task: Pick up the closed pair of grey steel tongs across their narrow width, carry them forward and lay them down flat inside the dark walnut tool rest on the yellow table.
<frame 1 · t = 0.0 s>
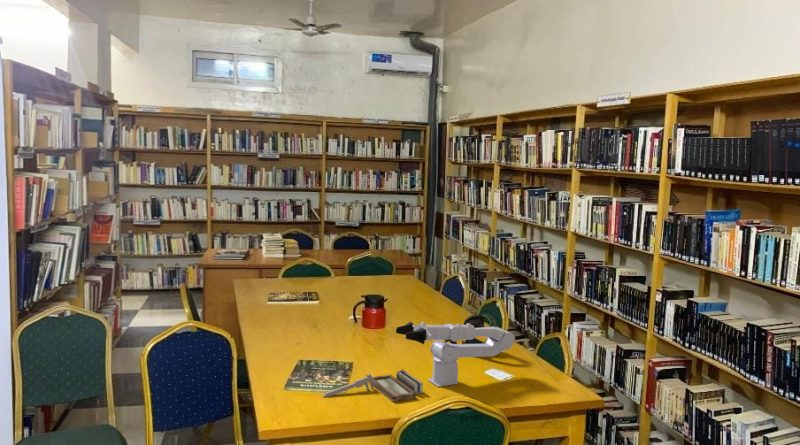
hand: (401, 333, 223), 22 cm above the table, tool horizontal, fingers open, 7 cm apart
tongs: (409, 387, 228), on the table
headset: (469, 351, 276), on the table
caliper: (348, 393, 220), on the table
rest: (391, 390, 224), on the table
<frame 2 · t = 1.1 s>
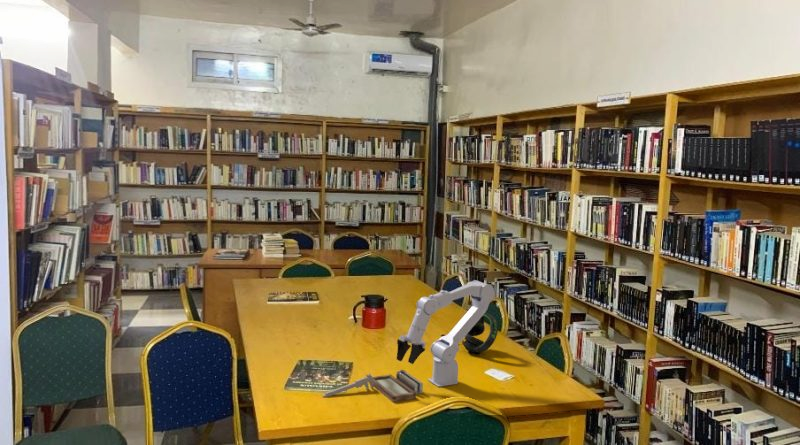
hand: (404, 361, 226), 10 cm above the table, tool tilted 20°, fingers open, 7 cm apart
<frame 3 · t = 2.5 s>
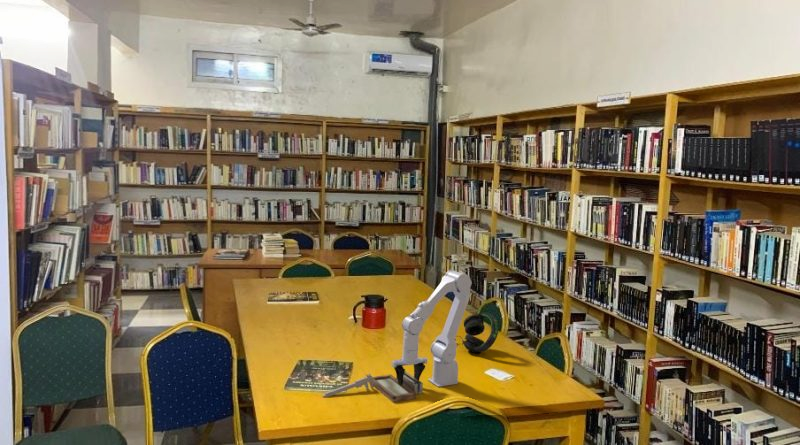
hand: (408, 383, 227), 2 cm above the table, tool pointing down, fingers open, 6 cm apart
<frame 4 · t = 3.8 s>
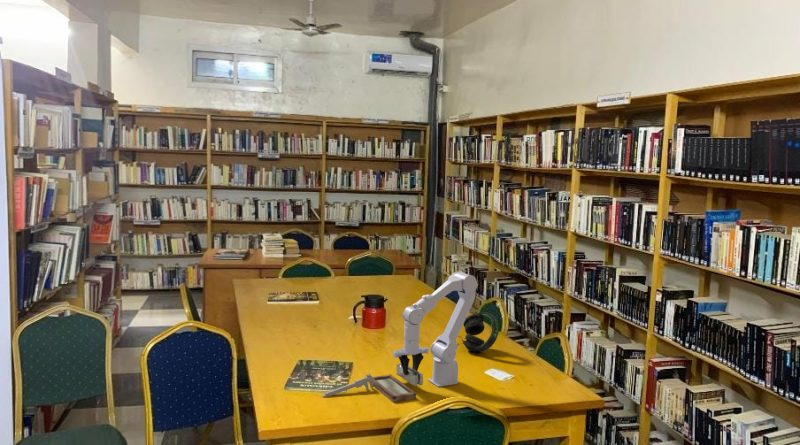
hand: (410, 373, 227), 5 cm above the table, tool pointing down, fingers closed on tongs, 3 cm apart
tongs: (409, 379, 228), point 3 cm above the table, touching gripper
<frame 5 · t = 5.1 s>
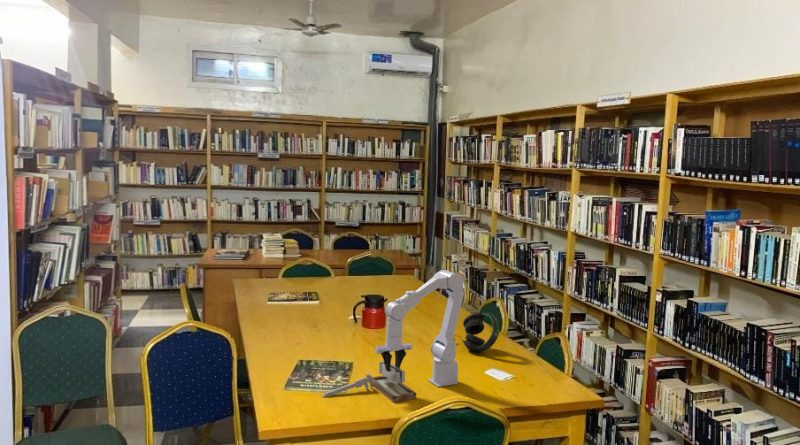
hand: (392, 370, 223), 8 cm above the table, tool pointing down, fingers closed on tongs, 3 cm apart
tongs: (391, 377, 224), point 5 cm above the table, touching gripper
when the fingers open (3 cm above the table, at t = 6.2 s): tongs stays where it is, resting on rest.
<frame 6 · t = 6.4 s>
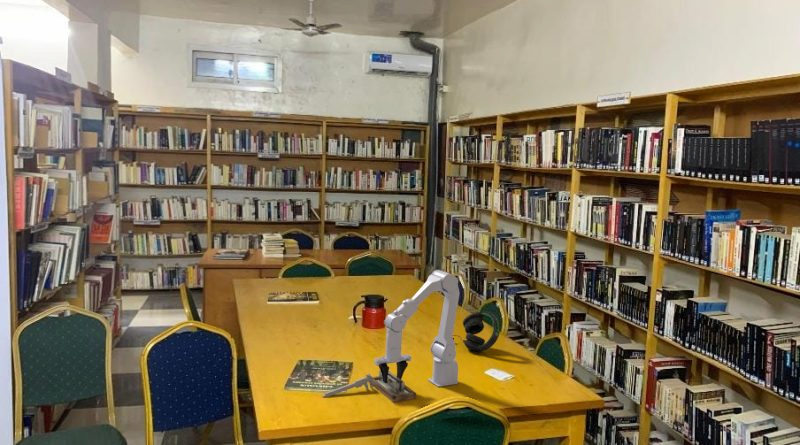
hand: (392, 381, 224), 3 cm above the table, tool pointing down, fingers open, 5 cm apart
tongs: (391, 386, 224), point 1 cm above the table, touching rest
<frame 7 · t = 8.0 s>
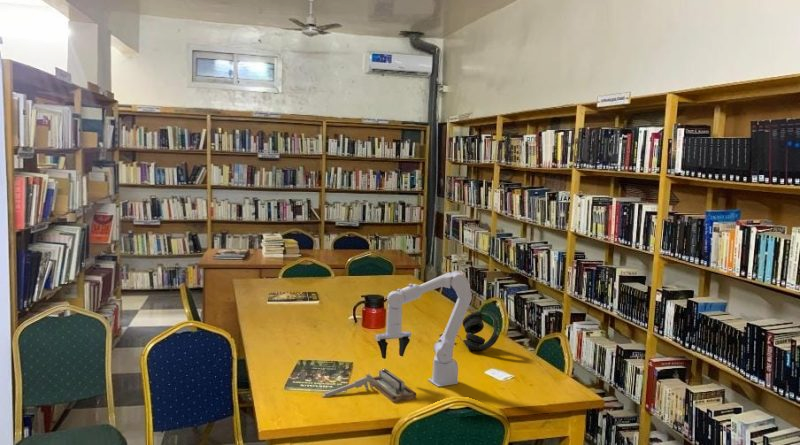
hand: (392, 356, 232), 10 cm above the table, tool pointing down, fingers open, 7 cm apart
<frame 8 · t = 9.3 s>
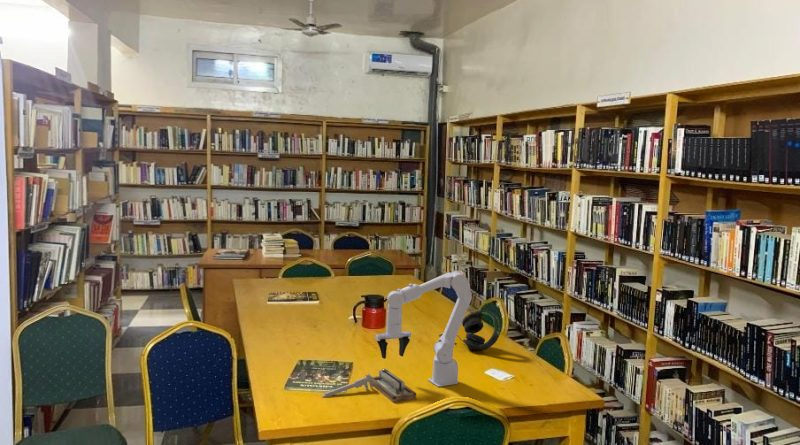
hand: (392, 356, 232), 10 cm above the table, tool pointing down, fingers open, 7 cm apart
at the end: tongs inside the target area (0.3 cm from its centre), point 1.2 cm above the table; the gripper is holding nothing; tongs moved 7.6 cm from its start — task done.
